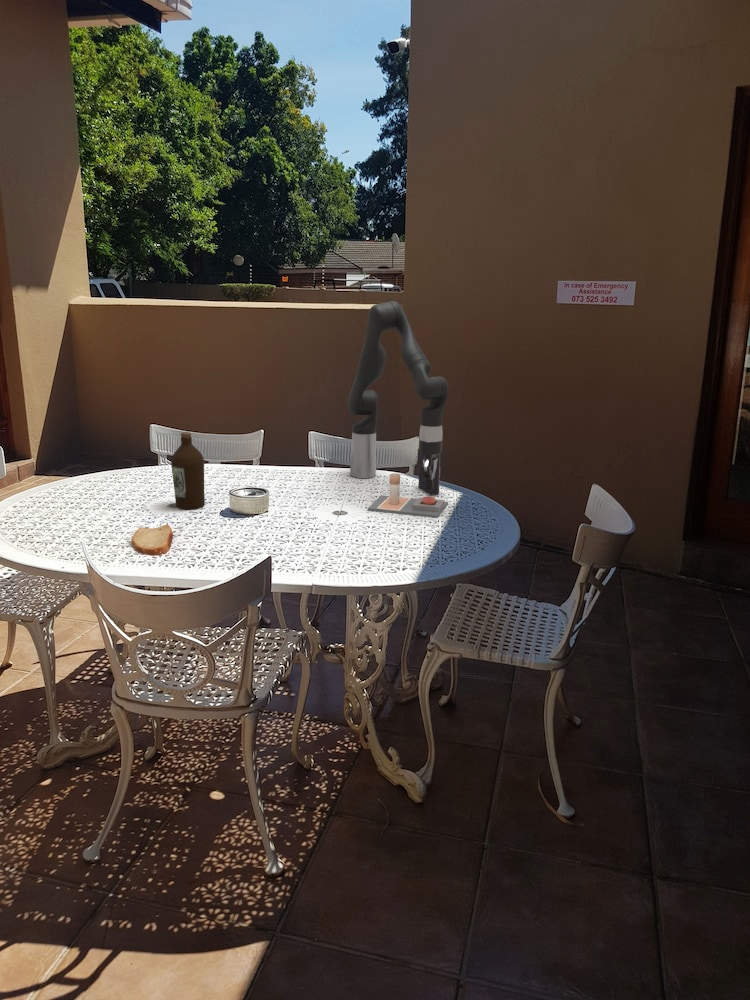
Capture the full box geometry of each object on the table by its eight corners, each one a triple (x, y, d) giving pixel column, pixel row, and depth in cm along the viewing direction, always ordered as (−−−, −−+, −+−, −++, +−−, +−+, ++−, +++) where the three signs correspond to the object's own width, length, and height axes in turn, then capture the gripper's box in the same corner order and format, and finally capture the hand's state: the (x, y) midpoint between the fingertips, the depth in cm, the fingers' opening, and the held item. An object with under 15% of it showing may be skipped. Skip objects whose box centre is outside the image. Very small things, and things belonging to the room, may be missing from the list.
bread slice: (157, 558, 207) (156, 546, 206) (110, 547, 215) (109, 535, 213) (200, 539, 222) (200, 527, 221) (155, 529, 230) (154, 518, 229)
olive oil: (194, 499, 259) (190, 428, 252) (212, 505, 252) (208, 433, 245) (168, 505, 252) (162, 433, 244) (185, 512, 245) (180, 437, 237)
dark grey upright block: (440, 494, 268) (442, 454, 263) (429, 496, 266) (431, 455, 262) (427, 487, 278) (428, 447, 273) (416, 488, 276) (417, 448, 272)
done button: (420, 505, 249) (420, 499, 249) (423, 501, 253) (424, 496, 253) (433, 506, 248) (433, 500, 248) (436, 502, 252) (436, 497, 252)
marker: (387, 504, 253) (388, 475, 250) (390, 501, 257) (391, 473, 254) (398, 505, 252) (398, 476, 249) (400, 502, 256) (401, 474, 253)
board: (367, 510, 249) (367, 503, 249) (381, 497, 264) (381, 490, 263) (437, 517, 243) (438, 510, 242) (448, 504, 257) (448, 497, 257)
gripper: (424, 433, 251) (423, 483, 256) (414, 441, 239) (413, 493, 244) (446, 435, 249) (444, 485, 254) (437, 443, 237) (435, 495, 242)
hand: (429, 489), depth 249 cm, fingers closed
